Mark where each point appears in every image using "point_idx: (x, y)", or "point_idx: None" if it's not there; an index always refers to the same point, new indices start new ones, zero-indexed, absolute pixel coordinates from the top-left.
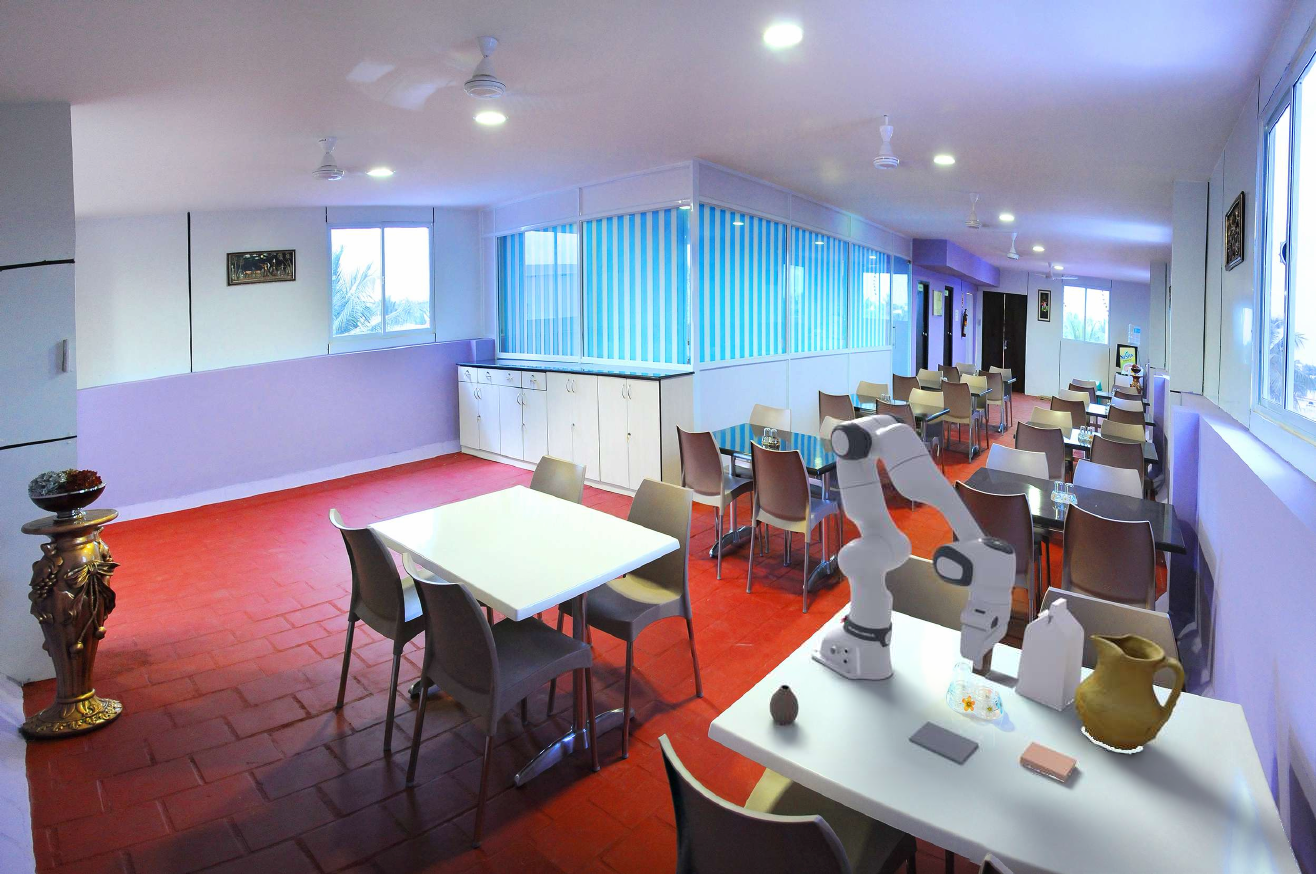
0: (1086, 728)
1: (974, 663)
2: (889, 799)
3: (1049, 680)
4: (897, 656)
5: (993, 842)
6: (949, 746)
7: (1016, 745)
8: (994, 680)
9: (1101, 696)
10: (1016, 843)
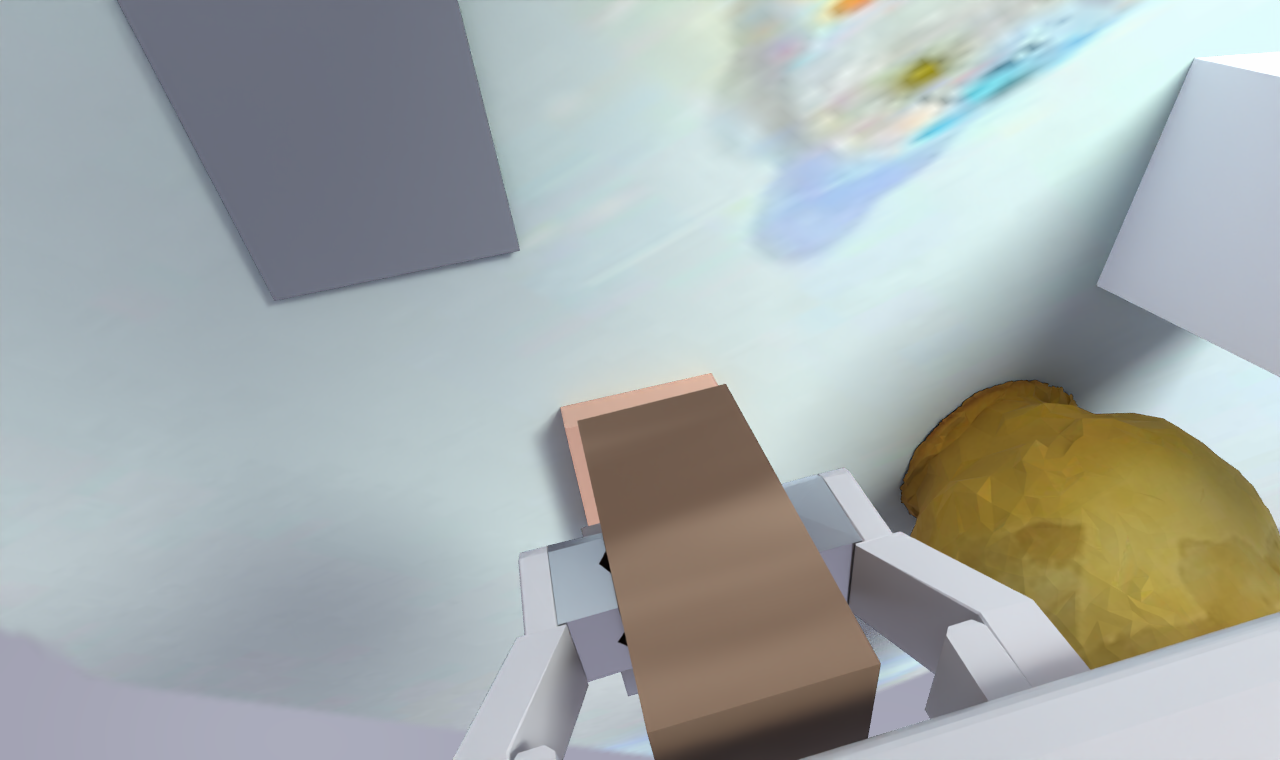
0: (982, 422)
1: (523, 603)
2: None
3: (1250, 279)
4: None
5: (9, 609)
6: (328, 180)
7: (680, 333)
8: None
9: None
10: (108, 629)
